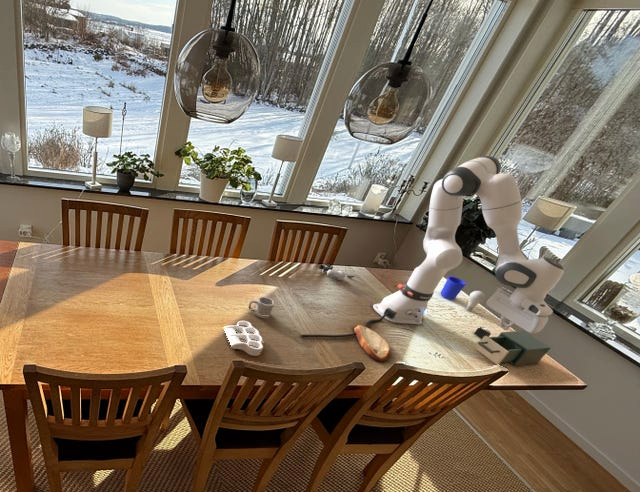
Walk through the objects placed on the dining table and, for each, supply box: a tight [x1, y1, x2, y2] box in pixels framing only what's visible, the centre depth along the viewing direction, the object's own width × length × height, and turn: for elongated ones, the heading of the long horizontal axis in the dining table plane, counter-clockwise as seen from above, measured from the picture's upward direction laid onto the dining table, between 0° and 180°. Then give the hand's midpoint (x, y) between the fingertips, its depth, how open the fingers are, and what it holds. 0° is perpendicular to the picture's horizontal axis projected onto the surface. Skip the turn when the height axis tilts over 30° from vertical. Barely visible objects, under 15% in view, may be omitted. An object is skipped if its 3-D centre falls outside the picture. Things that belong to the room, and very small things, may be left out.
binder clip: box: [473, 326, 492, 340], centre depth 180 cm, size 3×4×4 cm
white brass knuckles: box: [222, 320, 266, 357], centre depth 155 cm, size 3×18×15 cm
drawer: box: [475, 335, 524, 366], centre depth 166 cm, size 17×10×7 cm, turn 104°
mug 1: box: [247, 296, 275, 319], centre depth 172 cm, size 10×7×7 cm
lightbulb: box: [465, 290, 486, 311], centre depth 198 cm, size 6×6×11 cm
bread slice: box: [354, 324, 391, 362], centre depth 163 cm, size 18×18×4 cm
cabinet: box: [498, 330, 551, 366], centre depth 169 cm, size 14×12×9 cm
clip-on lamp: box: [318, 263, 356, 281], centre depth 212 cm, size 12×6×18 cm
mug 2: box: [440, 275, 467, 300], centre depth 209 cm, size 8×12×10 cm
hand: (502, 327), depth 159 cm, fingers closed
